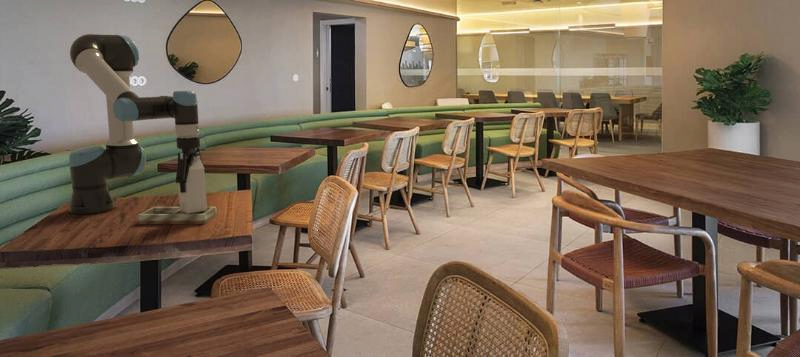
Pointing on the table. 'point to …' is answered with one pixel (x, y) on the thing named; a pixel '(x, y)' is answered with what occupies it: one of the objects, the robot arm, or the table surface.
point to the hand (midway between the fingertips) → (192, 197)
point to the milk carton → (195, 189)
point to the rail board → (175, 216)
